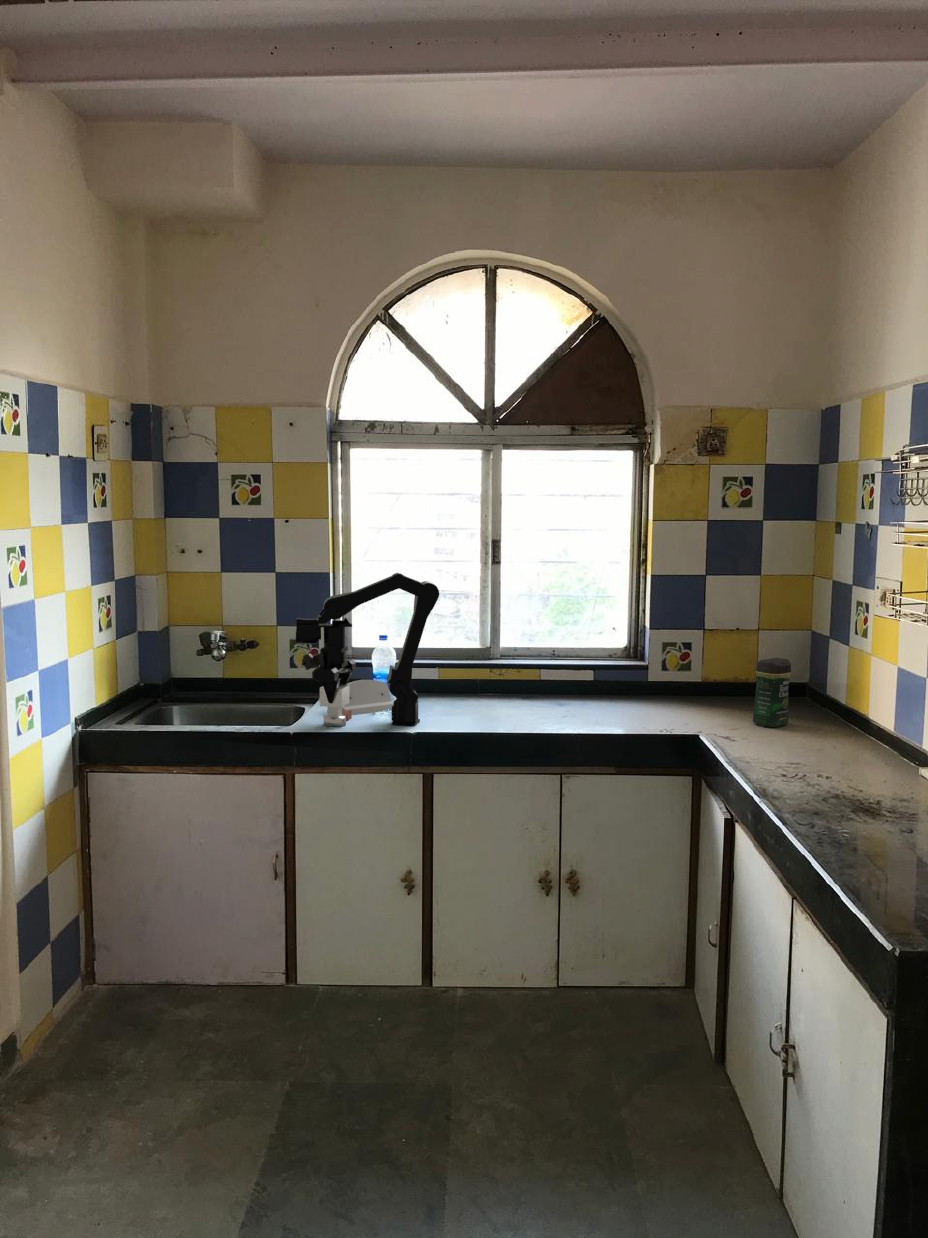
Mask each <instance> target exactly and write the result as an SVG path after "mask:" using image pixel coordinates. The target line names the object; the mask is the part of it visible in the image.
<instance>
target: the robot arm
mask: <svg viewBox="0 0 928 1238" xmlns="http://www.w3.org/2000/svg"><path fill="white" fill-rule="evenodd" d="M396 590H402V591H404V592H406V593H409V594H410V595H413V596H414V598H413V613H412V615H411V619H410V623H409V626H408V629H407V632H406V635H405V636H406V637H405V640H404V642H403V645H402V649H401V652H400V655H399V659H398V661H397V662H396V664H395V666H394V665H391V664H390V665H389V668H388V670H389V671H388V675H387V676H386V677H385V680H386V684H387V686H388V690H389V693H390V695H392V696H393V697H395V698H396V699H395V700H393V703H394V705H393V706H392V710H391V721H392V722H391V725H396V726H412V727H413V726H416V725H417V724H418V723H420V721H421V719H420V718H419V695H418V693H417V692H416V690H415V689H414V688H413V687H412V678H413V666H414V663H415V659H416V657H417V656H416V655H417V653H418V649H419V645H420V643H421V640H422V636H423V633H424V630H425V626H426V623H427V620H428V617H429V616H430V614H431V612H432V611H433V610H434V607H435V606H436V604H437V602H438V600H439V597H440V590H439V587H438V586H437V585H435V584H434V583H433V582H430V581H428V580H425V581H420V580H419V581H418V580H416V579H413V578H411V577H409V576H406V575H404V574H402V573H400V572H395V573H393V574H391V575H390V576H388V577H385V578H383V579H380V580H378V581H376V582H374V583H371V584H369V585H367V586H364V587H362V588H359V589H357V590H354V591H351V592H344V593H339V594H335V595H330V596H328V597H327V598H326V599H325V600H324V602H323V604H322V605H323V606H322V608H323V609H322V610H321V611H320V613H319V614H318V615H317V617H316V618H303V617H302V618H300V617H299V618H296V621H295V622H296V624H295V625H296V629H295V645H311V644H312V645H317V644H318V642H319V641H321V640H322V628H323V646H322V647H321V648H319V649H320V650H319V653H315V654H312V653H306V654H304V655H303V656H302V659H301V665H302V666H304V668H305V670H306V671H308V670H310V669H312V668H315V667H316V668H315V669H314V670H313V671H312V672H311V680H313V681H314V680H315V681H317V682H319V683H321V685H322V686H323V687H324V690H325V693H326V696H327V699H328V703H333V701H334V698H335V695H336V692H337V689H338V685H339V684H346V685H347V684H348V683H349V681H350V679H351V677H352V674H353V671H355V670H356V669H357V662H356V661H355V660H354V659H353V658H346V651H348V645H347V646H346V628H352V627H353V624H352V622H350V621H349V620H348V618H347V617H346V616H345V615H347V614H349V613H350V612H351V611H353V610H354V609H355V608H357V607H358V606H360V605H362V604H365V603H367V602H369V601H372V600H374V599H375V600H376V599H377V598H379V597H381V596H384V595H387V594H388V593H391V592H394V591H396ZM344 616H345V617H344ZM343 617H344V618H343ZM341 618H343V619H342V620H341ZM339 619H340V620H339ZM329 621H331V623H329ZM318 666H319V667H318ZM349 669H350V671H348V670H349Z"/></svg>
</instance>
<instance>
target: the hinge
mask: <svg viewBox="0 0 928 1238" xmlns="http://www.w3.org/2000/svg"><path fill="white" fill-rule="evenodd" d="M347 685H349V703H348V704H347V705H345V706H343V707H342V710H350V711H352V716H356V715H363V714H371V713H372V714H373V713H379V712H378V711H381V712H384V711H383V710H388V709H389V711H392V710H391V709H392V706H393V705H394V701H393V700H392V697H391V692H390V690H389V688H388V685H387V682H385V681H381V680H375V679H360V680H354V681H352V682H351V681H350V682H348V683H347Z"/></svg>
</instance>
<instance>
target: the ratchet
mask: <svg viewBox="0 0 928 1238" xmlns="http://www.w3.org/2000/svg"><path fill="white" fill-rule="evenodd" d="M326 708H327V714H325V715H323V723H322V724H323V727H325V728H329V727H338V728H343V727H346V726H347V722H348V721H350V720H351V719H352V717H353V715H352V711H350V710H342V707H326Z"/></svg>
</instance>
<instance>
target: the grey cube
mask: <svg viewBox="0 0 928 1238" xmlns="http://www.w3.org/2000/svg"><path fill="white" fill-rule="evenodd" d="M348 703H349V685H346V684H339V685H338V689H337V692H336V695H335V698H334V701H333V703H328V699H327V696H326V693H325V690H324V687H323V685H322V686H320V687H319V707H326V708H327V707H343V706H345V705H347V704H348Z"/></svg>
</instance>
